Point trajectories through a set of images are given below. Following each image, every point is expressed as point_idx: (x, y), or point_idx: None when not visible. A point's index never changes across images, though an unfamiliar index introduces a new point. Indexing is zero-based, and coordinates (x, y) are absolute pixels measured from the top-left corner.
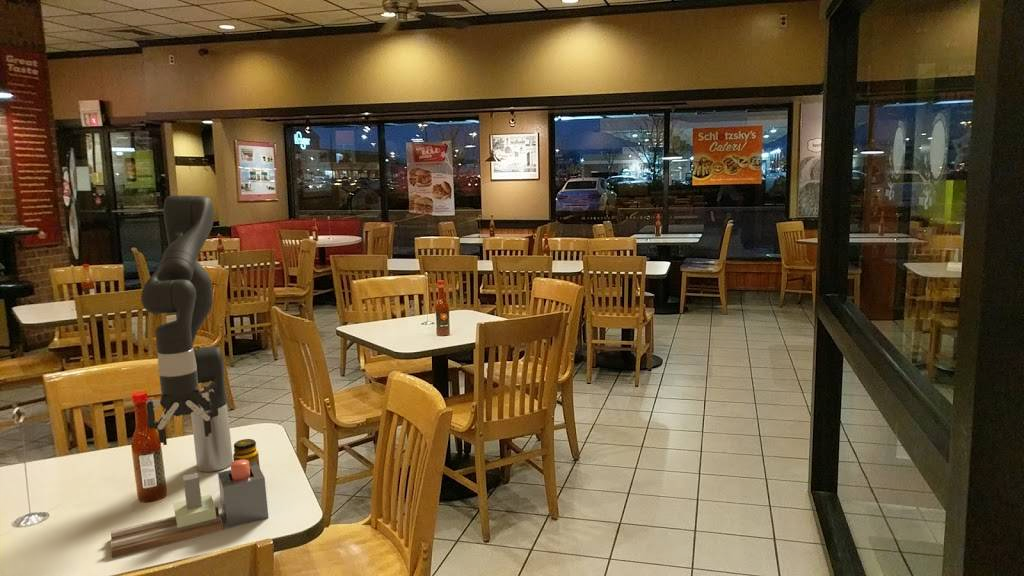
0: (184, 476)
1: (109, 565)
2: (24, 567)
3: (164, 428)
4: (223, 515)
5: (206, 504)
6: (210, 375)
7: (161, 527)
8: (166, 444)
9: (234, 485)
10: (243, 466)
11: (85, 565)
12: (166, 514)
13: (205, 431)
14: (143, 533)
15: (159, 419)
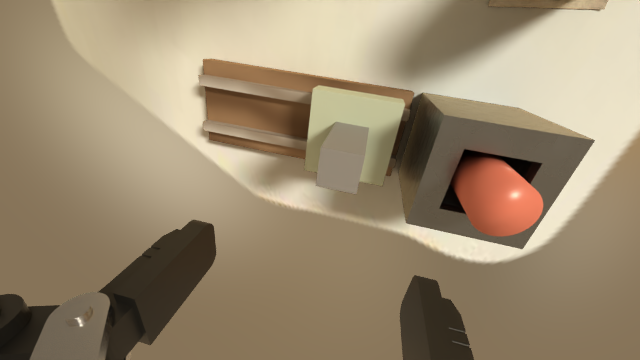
0: (323, 155)
1: (214, 157)
2: (94, 67)
3: (143, 331)
4: (415, 116)
5: (373, 155)
6: None
7: (290, 108)
8: (212, 258)
9: (435, 228)
10: (497, 233)
11: (182, 131)
12: (316, 4)
13: (404, 346)
14: (258, 109)
15: (33, 356)
